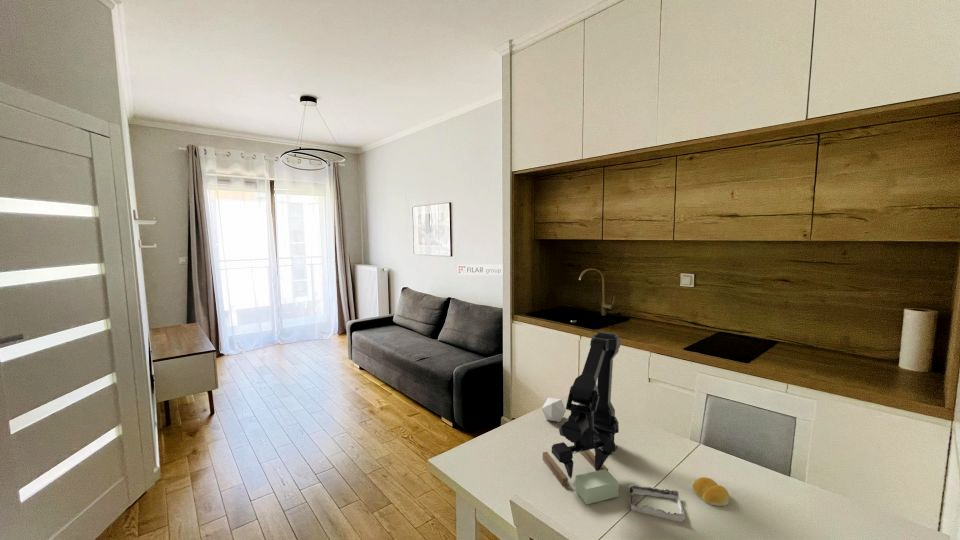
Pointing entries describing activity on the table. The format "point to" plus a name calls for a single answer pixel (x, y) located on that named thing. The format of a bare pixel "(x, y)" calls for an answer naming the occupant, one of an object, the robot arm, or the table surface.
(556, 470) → the chute rails
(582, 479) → the block
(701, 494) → the bread roll
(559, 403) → the die
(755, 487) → the table surface
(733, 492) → the table surface
